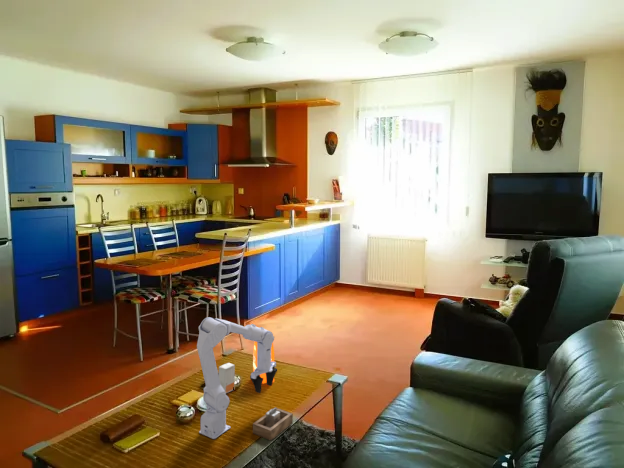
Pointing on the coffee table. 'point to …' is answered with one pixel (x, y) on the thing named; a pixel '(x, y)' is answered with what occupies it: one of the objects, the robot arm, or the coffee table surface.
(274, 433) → the well block
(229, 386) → the skincare box
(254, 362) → the orange juice
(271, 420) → the bracket
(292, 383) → the coffee table surface
